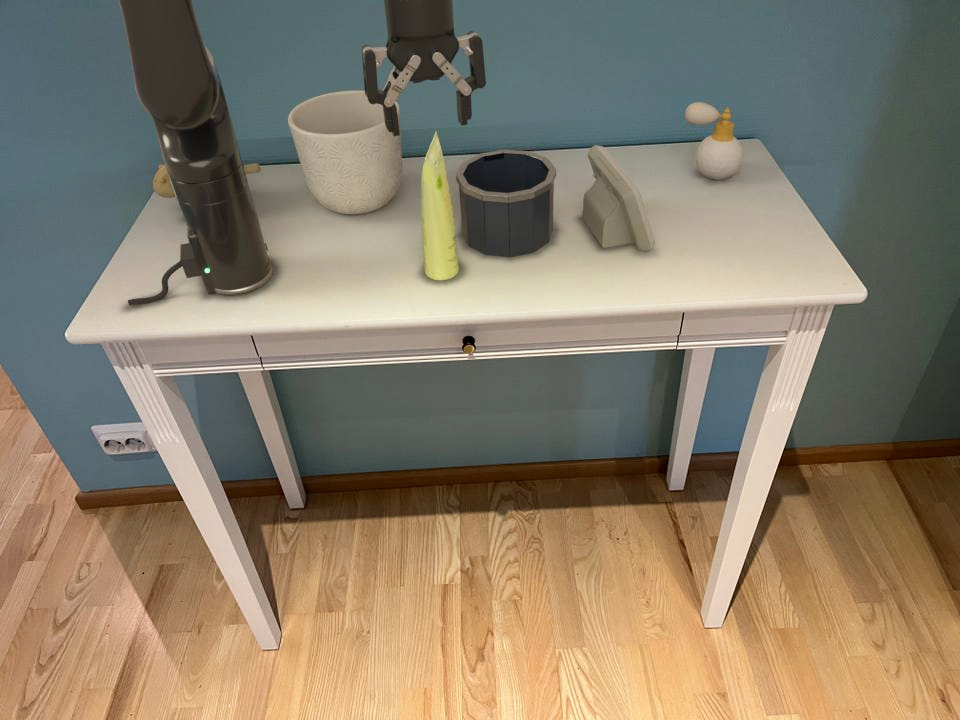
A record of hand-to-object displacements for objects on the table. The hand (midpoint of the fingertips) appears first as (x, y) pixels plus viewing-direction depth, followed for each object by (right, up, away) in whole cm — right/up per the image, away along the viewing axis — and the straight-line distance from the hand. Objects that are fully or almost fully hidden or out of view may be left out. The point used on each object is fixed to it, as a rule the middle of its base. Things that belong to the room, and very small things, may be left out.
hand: (429, 128), depth 90 cm
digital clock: (+27, -9, +21) cm, 36 cm away
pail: (+10, -9, +22) cm, 26 cm away
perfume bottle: (+45, +2, +32) cm, 55 cm away
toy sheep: (-37, -4, +31) cm, 49 cm away
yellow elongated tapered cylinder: (+1, -16, +14) cm, 22 cm away
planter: (-14, -2, +31) cm, 34 cm away
